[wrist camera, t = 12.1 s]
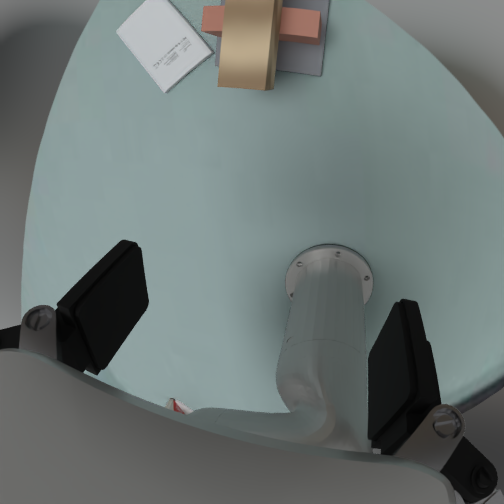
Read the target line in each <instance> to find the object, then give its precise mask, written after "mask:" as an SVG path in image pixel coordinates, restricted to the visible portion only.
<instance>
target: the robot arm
mask: <svg viewBox="0 0 504 504" xmlns="http://www.w3.org/2000/svg"><path fill="white" fill-rule="evenodd" d="M285 288H286V292H287V295H288V297H289V298H290V300H291V302H292V303H291V308H290V312H289V317H288V321H287V326H286V330H285V335H284V339H283V343H282V348H281V352H280V356H279V361H278V365H277V370H276V384H277V389H278V392H279V394H280V396H281V398H282V400H283V402H284V403H285V405H286V406H287V408H288V409H289V411H290V412H291V413H265V412H254V411H244V410H235V409H225V408H202V409H198V410H195V411H193V412H191V413H190V414H188V415H185V414H182V413H179V412H176V411H173V410H171V409H168V408H165V407H162V406H159V405H157V404H154V403H151V402H149V401H146V400H144V399H141V398H139V397H136V396H134V395H131V394H129V393H126V392H124V391H122V390H119V389H117V388H115V387H112V386H110V385H108V384H106V383H104V382H101V381H99V380H97V379H95V378H93V377H91V376H88V375H86V374H84V373H83V372H84V371H85V369H86V370H87V371H89V372H91V373H93V374H95V375H98V374H99V372H100V371H101V369H102V370H104V369H105V368H106V367H107V366H108V364H109V363H110V361H111V360H112V358H113V357H114V355H115V354H116V352H117V351H118V349H119V348H120V346H121V345H122V344H123V342H124V341H125V339H126V338H127V336H128V335H129V333H130V332H131V331H132V329H133V328H134V326H135V325H136V324H137V322H138V321H139V319H140V318H141V316H142V315H143V314H144V312H145V311H146V309H147V307H148V304H149V299H148V293H147V286H146V280H145V273H144V265H143V258H142V250H141V248H140V247H138V244H137V243H136V242H132V241H128V240H121V241H120V242H119V243H118V244H117V245H116V246H115V247H113V248H112V249H111V250H110V251H109V252H108V253H107V254H106V255H105V256H104V257H103V258H102V259H101V260H100V261H99V262H98V263H97V264H96V265H95V266H93V267H92V268H91V269H90V270H89V271H88V272H87V273H86V274H85V275H84V276H83V277H82V278H81V279H80V280H79V281H78V282H77V283H76V284H75V285H74V286H73V287H72V288H71V289H70V290H69V291H68V292H67V293H66V295H65V296H64V297H63V298H62V299H61V300H60V301H59V302H58V303H57V306H58V308H57V309H56V310H54V309H53V308H52V307H50V306H48V305H39V306H36V307H33V308H32V309H30V310H29V311H28V312H27V313H26V314H25V315H24V317H23V319H22V322H21V325H17V326H13V327H10V328H6V329H2V330H0V504H504V496H503V494H502V492H501V490H498V491H497V490H496V485H497V480H498V477H497V472H496V469H495V467H494V466H493V464H492V463H491V462H490V461H489V460H488V459H487V458H486V457H485V456H484V455H483V454H482V453H480V452H479V451H478V450H477V449H476V448H475V447H474V446H473V445H472V444H471V443H470V442H469V441H468V440H467V439H466V438H465V437H464V436H463V435H464V432H465V421H464V418H463V416H462V414H461V413H460V412H459V411H458V410H457V409H456V408H455V407H453V406H451V405H448V404H441V398H440V391H439V385H438V379H437V374H436V368H435V363H434V358H433V353H432V348H431V345H430V342H429V341H427V339H426V335H425V330H424V326H423V322H422V318H421V314H420V310H419V306H418V303H417V302H416V301H412V300H407V299H401V300H400V302H395V303H394V305H393V307H392V310H391V312H390V314H389V316H388V318H387V320H386V322H385V324H384V326H383V328H382V330H381V332H380V334H379V336H378V338H377V340H376V342H375V343H374V345H373V347H372V349H371V351H370V354H369V357H368V405H367V367H366V334H365V314H364V305H365V304H366V303H367V302H368V300H369V298H370V296H371V294H372V290H373V276H372V272H371V269H370V267H369V265H368V264H367V262H366V261H365V260H364V259H363V258H362V257H361V256H360V255H359V254H357V253H356V252H355V251H353V250H351V249H348V248H346V247H342V246H338V245H320V246H316V247H312V248H310V249H308V250H306V251H304V252H302V253H301V254H299V255H298V256H297V257H296V258H295V259H294V260H293V261H292V263H291V264H290V266H289V268H288V271H287V274H286V279H285ZM373 448H378V449H381V454H373Z"/></svg>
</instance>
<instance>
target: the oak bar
mask: <svg viewBox="0 0 504 504" xmlns="http://www.w3.org/2000/svg"><path fill="white" fill-rule="evenodd" d="M282 4H283V0H225V9H224V19H223V29H222V40H221V51H220V63H219V75H218V87H231V88H244V89H255V90H272V89H274V80H275V70H276V61H277V51H278V42H279V32H280V23H281V13H282Z"/></svg>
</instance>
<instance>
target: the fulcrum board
mask: <svg viewBox="0 0 504 504" xmlns="http://www.w3.org/2000/svg"><path fill="white" fill-rule="evenodd" d="M328 7H329V0H283V4H282V13H281V23H280V32H279V42H278V51H277V61H276V70H279V71H288V72H295V73H303V74H309V75H316V76H321V70H322V62H323V54H324V45H325V36H326V27H327V17H328ZM224 9H225V0H221V6H204V8H203V18H202V29H201V31H202V32H205V33H209V34H212V35H215V36H217V47H216V59H215V66H219V63H220V51H221V40H222V29H223V19H224Z"/></svg>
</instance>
